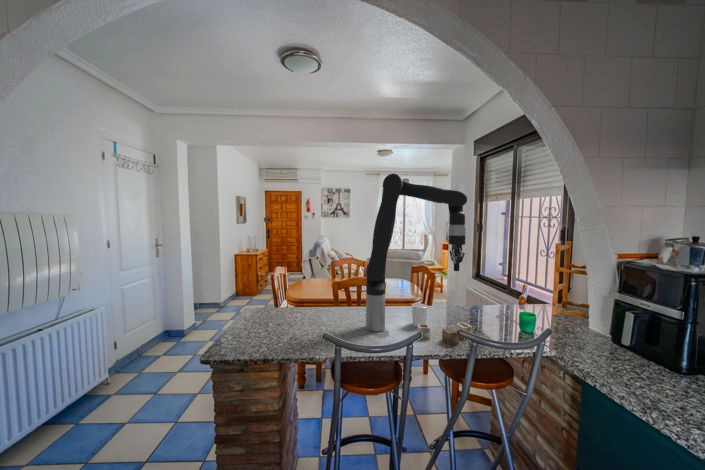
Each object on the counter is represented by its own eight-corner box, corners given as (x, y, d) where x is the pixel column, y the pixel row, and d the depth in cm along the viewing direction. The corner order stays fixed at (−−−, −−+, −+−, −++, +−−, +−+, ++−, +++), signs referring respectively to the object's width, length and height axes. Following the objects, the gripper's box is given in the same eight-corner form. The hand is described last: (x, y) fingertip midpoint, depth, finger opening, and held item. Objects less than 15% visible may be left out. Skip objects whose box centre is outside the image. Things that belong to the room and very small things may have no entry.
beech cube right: (463, 338, 125) (463, 327, 125) (456, 334, 130) (456, 323, 130) (472, 337, 126) (472, 326, 126) (465, 333, 131) (465, 322, 131)
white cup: (423, 328, 136) (424, 308, 136) (409, 325, 141) (409, 305, 141) (429, 324, 142) (430, 305, 142) (415, 321, 147) (415, 302, 147)
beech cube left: (418, 338, 124) (418, 327, 124) (417, 334, 129) (417, 323, 129) (430, 339, 124) (430, 327, 124) (428, 334, 129) (428, 324, 129)
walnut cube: (448, 344, 118) (448, 333, 118) (442, 340, 123) (442, 328, 123) (458, 343, 119) (458, 332, 119) (452, 339, 124) (452, 328, 124)
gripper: (444, 234, 138) (443, 268, 139) (454, 234, 125) (453, 273, 125) (459, 234, 138) (458, 268, 139) (471, 235, 125) (470, 273, 126)
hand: (456, 270), depth 132 cm, fingers closed
